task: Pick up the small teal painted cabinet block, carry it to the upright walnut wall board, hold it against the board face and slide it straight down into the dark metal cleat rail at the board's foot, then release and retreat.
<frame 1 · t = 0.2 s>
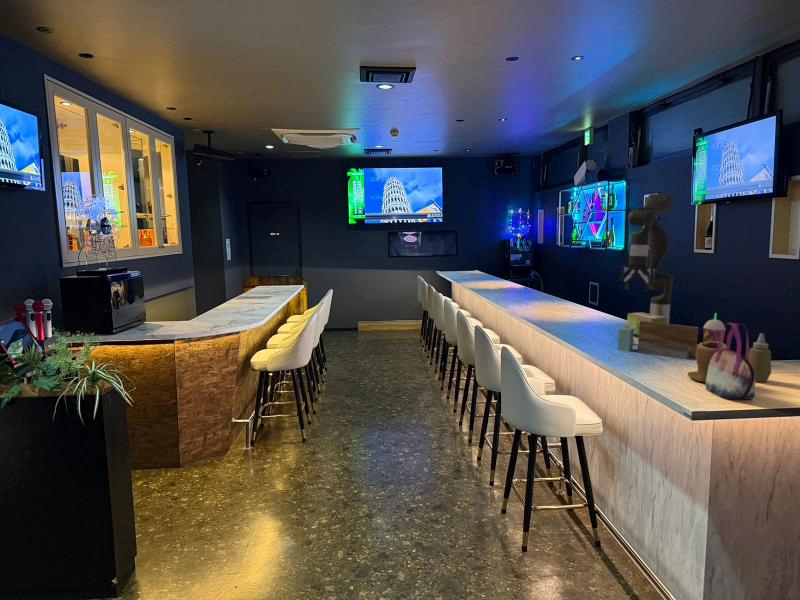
hand: (636, 290, 239), 28 cm above the countertop, fingers open, 8 cm apart
cabinet: (625, 349, 245), on the countertop
squeeze bottle: (756, 381, 197), on the countertop
wall board: (666, 352, 240), on the countertop
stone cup: (711, 381, 196), on the countertop
handbag: (728, 394, 180), on the countertop
tea box: (644, 344, 256), on the countertop
smoothie: (711, 358, 230), on the countertop
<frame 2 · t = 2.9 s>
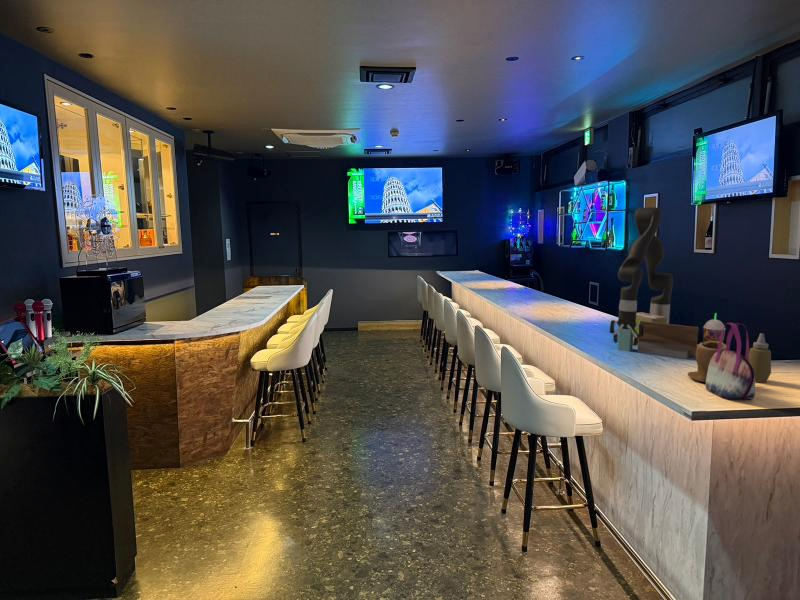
hand: (625, 343, 245), 3 cm above the countertop, fingers open, 8 cm apart
nothing on the countertop moved.
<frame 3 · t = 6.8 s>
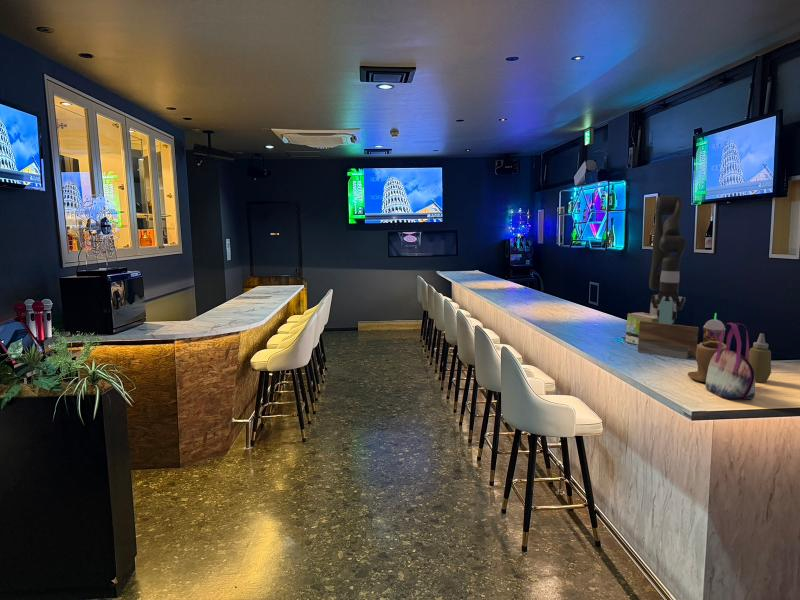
hand: (666, 318, 235), 16 cm above the countertop, fingers closed on cabinet, 5 cm apart
cabinet: (666, 323, 235), point 14 cm above the countertop, touching gripper
everything else where it was.
when the fingers open (6 cm above the countertop, at t = 9.8 s): cabinet stays where it is, resting on wall board.
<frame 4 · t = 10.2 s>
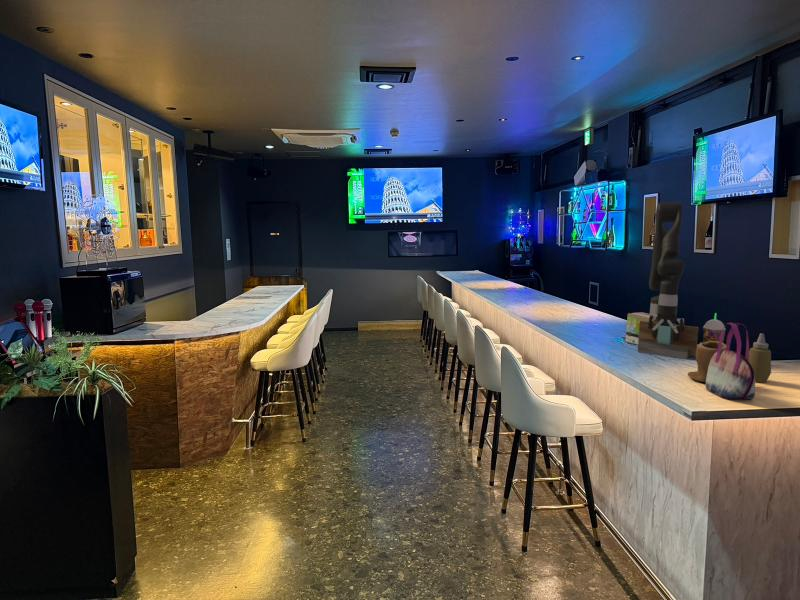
hand: (664, 339, 236), 7 cm above the countertop, fingers open, 8 cm apart
cabinet: (664, 347, 237), point 3 cm above the countertop, touching wall board
everything else where it was.
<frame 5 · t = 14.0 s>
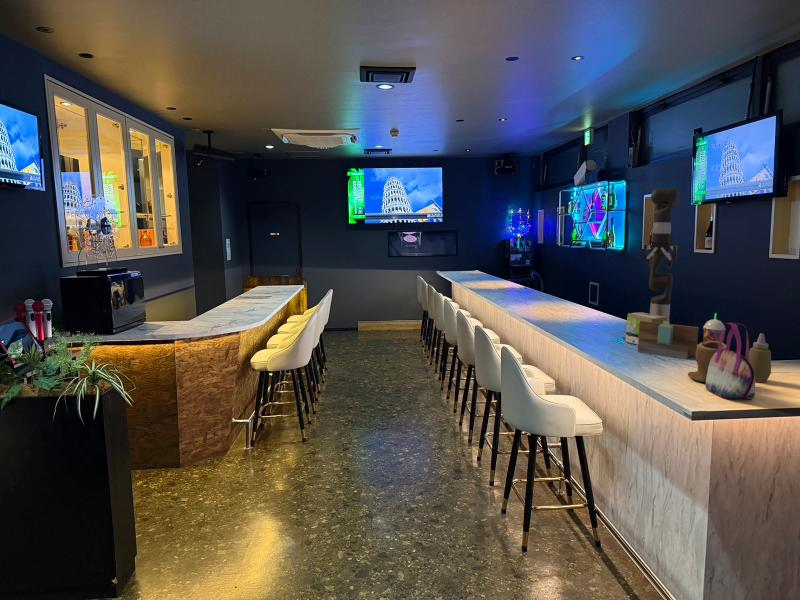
hand: (658, 267, 243), 38 cm above the countertop, fingers open, 8 cm apart
nothing on the countertop moved.
at the end: cabinet inside the target area on the wall board (0.2 cm from its centre), point 3.0 cm above the wall board's base; cabinet tilted 0°; the gripper is holding nothing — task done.
